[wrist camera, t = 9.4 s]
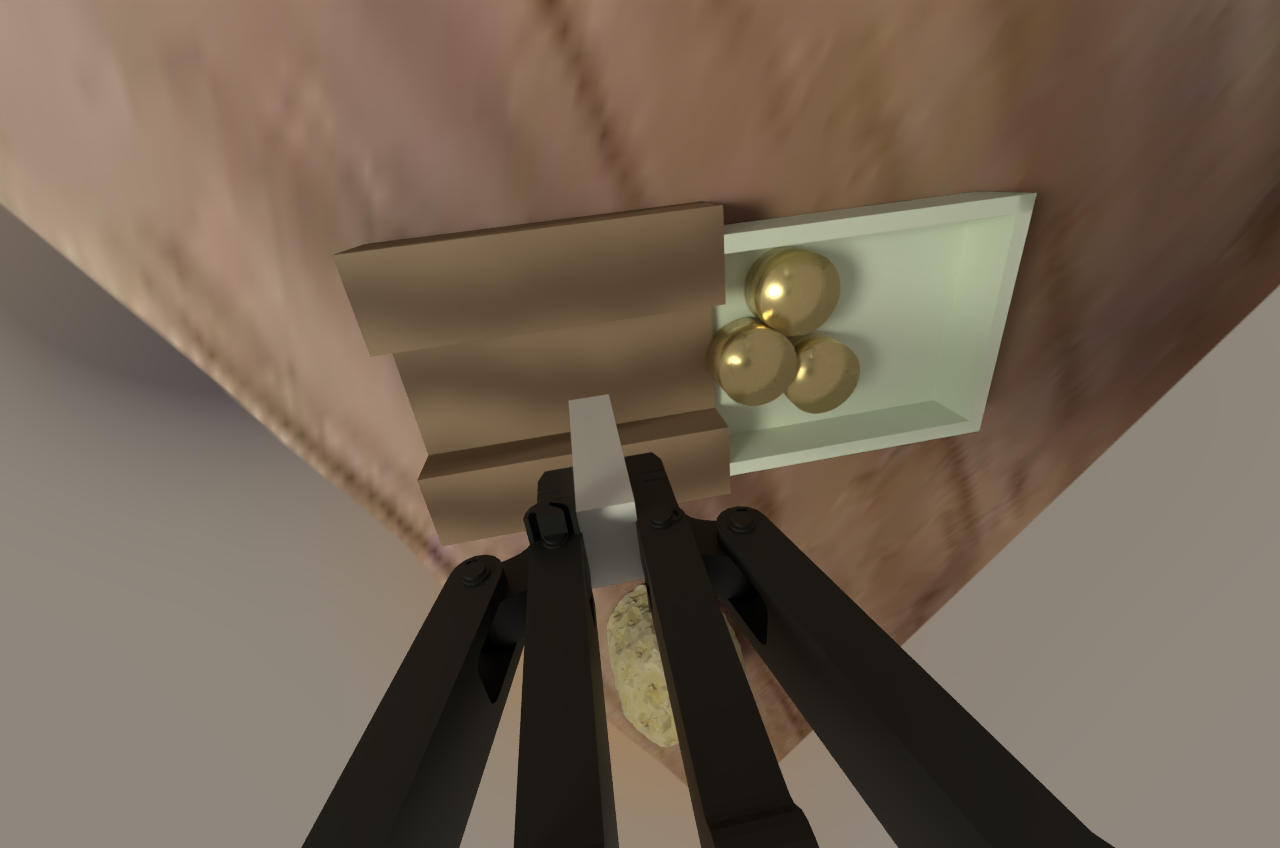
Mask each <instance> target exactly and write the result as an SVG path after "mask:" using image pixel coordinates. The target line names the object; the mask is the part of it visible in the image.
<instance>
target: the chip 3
mask: <svg viewBox="0 0 1280 848" xmlns="http://www.w3.org/2000/svg"><path fill="white" fill-rule="evenodd" d="M787 339H788V340H789V341H790V342H791V343H792V345H793V347H794V349H795V352H796V356H797V368H796V373H795V376H794V378H793V380H792V382H791V384H790V385H789V387H788V388H787V389H786V391H785V392H784V393H783V394H784V395H785V396H786V397H787V398H788V399H789V400H790V401H791V402H792V403H793V404H794V405H795V406H796V407H797V408H799V409H800V410H802V411H804V412H807V413H812V414H819V413H825V412H828V411H831V410H833V409H835V408H837V407H838V406H840V405H841V404H843V403H844V402H845V401H846V400H847V399H848V398H849V397H850V396H851V394H852V393H853V391H854V390H855V388H856V386H857V383H858V380H859V376H860V364H859V360H858V358H857V356H856V354H855V353H854V352H853V351H852V350H851V349H850V348H849V347H847V346H845V345H844V344H842V343H840V342H838V341H837V340H835V339H833V338H831V337H830V336H828V335H826V334H824V333H823V332H820V331H817V330H814V331H812V332H810V333H808V334H805V335H800V336H789V337H787Z"/></svg>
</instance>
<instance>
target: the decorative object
mask: <svg viewBox="0 0 1280 848" xmlns="http://www.w3.org/2000/svg"><path fill="white" fill-rule="evenodd" d="M720 608H721V607H720ZM721 611H722V609H721ZM722 613H723V612H722ZM723 616H724V619H725V622H726V624H727V627H728V630H729V632H730V635H731V638H732V640H733V643H734V646H735V649H736V651H737V654H738V657H739V659H740V662H741V665H742V667H743V670H744V673H745V671H746V669H745V664H744V659H743V655H742V651H741V645H740V643H739V642H738V639H737V638H736V636H735V632H734V630H733V628H732V627H731V626H730V624H729V622H728V620H727V618H726V615H725V614H724V613H723ZM607 632H608V634H607V639H608V651H609V655H610V660H611V667H612V670H613V673H614V676H615V686H616V688H617V690H618V692H619V696H620V699H621V701H622V705H621V706H622V709H623V713H624V715H625V716H626V717H627V719H628V720H629V721H630V722H631V723H632V724H633V725H634V726H635V727H636V729H637V730H638V731H640V732H642V733H643V734H644V735H645V736H646V737H647V738H649V739H650V740H651V741H652V742H654V743H657V744H658V745H660V746H662V747H670V746H673V745H676V744H679V741H678V736H677V732H676V727H675V722H674V718H673V713H672V708H671V704H670V699H669V694H668V690H667V685H666V680H665V676H664V671H663V666H662V662H661V657H660V652H659V648H658V643H657V638H656V634H655V629H654V624H653V620H652V615H651V612H649V605H648V598H647V591H646V584H643V585H639V586H637V587H636V589H635V590H634V591H633V592H630V593H628V594H627V595H626V596H625V597H624V598H623V599H622V600H621V601H620V602H619V603H618V605H617V607H616V609H615V611H614V612H613V613H612V614H611V615H610V619H609V621H608V623H607Z"/></svg>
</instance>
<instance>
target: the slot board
mask: <svg viewBox="0 0 1280 848" xmlns="http://www.w3.org/2000/svg"><path fill="white" fill-rule="evenodd" d="M332 256H333V258H334V261H335V264H336V266H337V269H338V272H339V274H340V277H341V280H342V282H343V285H344V287H345V290H346V293H347V295H348V298H349V301H350V303H351V306H352V309H353V311H354V314H355V317H356V319H357V322H358V325H359V327H360V330H361V332H362V335H363V338H364V340H365V343H366V346H367V348H368V351H369V354H370V356H371V357H372V356H378V355H385V354H392V353H393V356H394V359H395V362H396V365H397V367H398V370H399V373H400V376H401V379H402V381H403V384H404V387H405V390H406V393H407V396H408V398H409V401H410V404H411V407H412V410H413V412H414V415H415V418H416V421H417V424H418V427H419V429H420V432H421V435H422V438H423V441H424V443H425V446H426V449H427V452H428V455H429V456H428V458H427V460H426V462H425V465H424V467H423V469H422V471H421V473H420V476H419V478H418V480H417V481H418V483H419V486H420V489H421V491H422V494H423V497H424V499H425V502H426V505H427V507H428V510H429V513H430V515H431V518H432V520H433V523H434V526H435V528H436V531H437V534H438V536H439V539H440V542H441V544H442V546H446V545H451V544H457V543H462V542H468V541H473V540H479V539H484V538H489V537H495V536H500V535H506V534H511V533H517V532H522V531H526V528H525V525H524V521H523V518H524V516H525V513H526V512H527V511H528V510H529V509H530V508H531V507H532V506H533V505H535V504H537V494H538V493H537V488H538V481H539V479H540V478H541V476H542V475H543V473H544V472H545V471H550V470H556V469H562V468H568V467H573V459H572V444H571V429H570V415H569V400H575V399H581V398H588V397H594V396H600V395H607V394H609V397H610V401H611V406H612V410H613V414H614V418H615V422H616V426H617V431H618V435H619V439H620V443H621V447H622V451H623V456H624V457H626V456H631V455H637V454H643V453H649V452H653V453H654V454H655V455H657V456H658V457H659V458H660V459H661V460H662V462H663V465H664V468H665V471H666V473H667V476H668V479H669V482H670V484H671V487H672V490H673V493H674V495H675V498H676V501H677V503H681V502H686V501H692V500H697V499H703V498H708V497H714V496H719V495H725V494H730V493H731V492H730V453H729V427H728V425H727V424H726V423H725V421H724V420H723V418H722V417H721V415H720V414H719V413H718V411H717V410H716V408H715V393H714V379H713V377H712V376H711V374H710V373H709V370H708V367H707V362H706V355H707V349H708V346H709V344H710V341H711V340H712V317H711V306H718V305H725V304H726V297H725V258H724V219H723V205H720V204H714V203H707V202H694V203H686V204H678V205H670V206H663V207H655V208H647V209H639V210H631V211H623V212H615V213H608V214H600V215H592V216H584V217H576V218H568V219H560V220H553V221H545V222H537V223H529V224H521V225H513V226H505V227H498V228H490V229H482V230H474V231H466V232H458V233H450V234H443V235H435V236H427V237H419V238H411V239H403V240H395V241H388V242H380V243H372V244H364V245H360V246H357V247H355V248H352V249H349V250H346V251H343V252H340V253H337V254H334V255H332Z"/></svg>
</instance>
